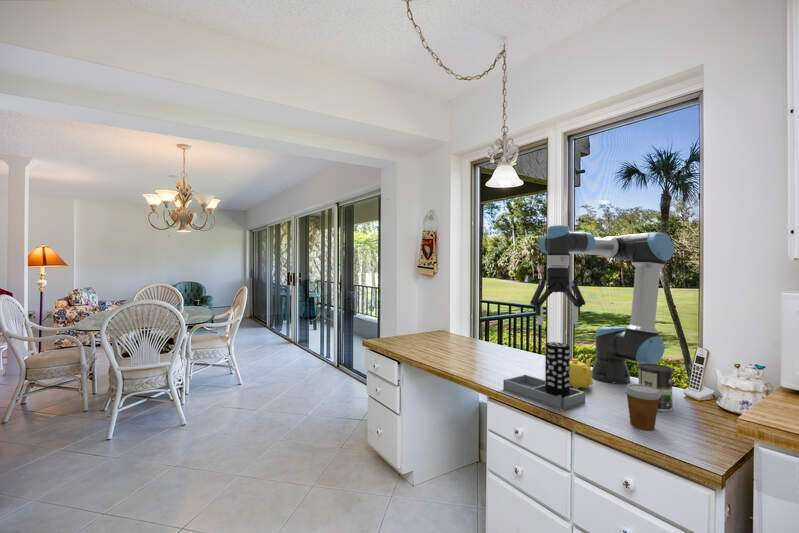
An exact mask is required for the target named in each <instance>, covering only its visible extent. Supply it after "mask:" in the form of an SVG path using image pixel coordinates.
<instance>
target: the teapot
mask: <svg viewBox="0 0 799 533" xmlns="http://www.w3.org/2000/svg"><path fill="white" fill-rule="evenodd" d="M592 360H593V357H589V358H587V359H586V362H583V361H579V359H578V358H572V359H571V360H570V387H572V388H573V389H576V390H579V389H580V388H582V387H583V388H582V389H586V388H588V389H589V386H592V385H593V384H594V382H593V381H594V380H593V377H592V368H591V361H592ZM579 391H580V390H579Z"/></svg>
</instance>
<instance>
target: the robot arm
mask: <svg viewBox="0 0 799 533" xmlns="http://www.w3.org/2000/svg"><path fill="white" fill-rule="evenodd" d="M546 232H547V233H546V234H545V235H543V236H541V237H540V238H539V240H538V248H539V251H541V252H542V253H544V254H546V255H547V256H546V266H547V269H546V278H547V279H546V280H543V279H540V280H538V286H537V288H536V289H535V292H534V294H533V296H532V298H531V301H530V302H529V303H530V305H532V306H534V307H535V316H536V317H537V325H539V326H543V325H544V306H542V305H543V304H544V303H545V302H546V300H547V299H548V298H549V297H550V296H551V294H553V293H563V294H565V295H566V297H567V298H568V299H569V301H570V302H571V303H572V304H573V306H572V307H571V324H573V325H579V316H580V315H581V307H583V306H585V305H586V301H585V298H584V297H583V295H582V293H581V291H580V288H579V286H578V281H577V279H571V280H569V276H570V268H569V265H570V254H574V255H576V254H577V255H590V256H592V255H593V256H602V257H603V258H606V259H615V260H622V261H628V262H629V261H630V262H631V265H632V266H633V267H634V268H635V269H634V270H635V271H634V281H633V291H632V303H631V310H630V311H631V314H630V323H629V325H628V326H626V327H624V326H603V327H601V326H600V327H598V328H597V329H596V330H595V361H594V363H593V367H592V368H591V371H592V379H595V380H597V381H600V380H601V381H600V382H604V381H605V383H609V382H615V383H614V384H628V383H630V382H631V374H630V372H629V369H628V367H627V362H626V361H627V360H628V361H631V362H636V363H638V364H657V363H658V362H659V361H660V360H661V359H662V357H663V356H664V354H665V350H666V349H665V348H666V346H665V345H666V344H665V342H664V339H663V338H661V337H660V335H659V334H660V333H659V331H658V330H657V329H656V319H657V318H656V317H657V316H656V315H657V306H658V298H659V297H658V295H659V285H660V276H661V269H663V268H664V267H665V266H666V261H669V260H671V258H672V257H673V256H674V249H675V248H674V243H673V242H672V239H671V238H670V236H669V235H667V234H666V233H664V232H661V231H659V232H654V231H651V232H643V233H642V232H641V233H629V234H624V235H617V236H614V235H613V236H612V235H611V236H608V235H607V236H605V237H603V238H602V237H595V235H594V234H592V233H591V232H586V231H570V227H569V225H565V224H558V225H555V224H554V225H550V226H549V227H548V228H547V231H546ZM546 286H547V288H546V289H545V287H546ZM569 287H570V288H571V289H570V288H569ZM544 289H545V291H544ZM571 290H572V291H573V293H572V291H571ZM543 291H544V292H543ZM627 382H628V383H627Z"/></svg>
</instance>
